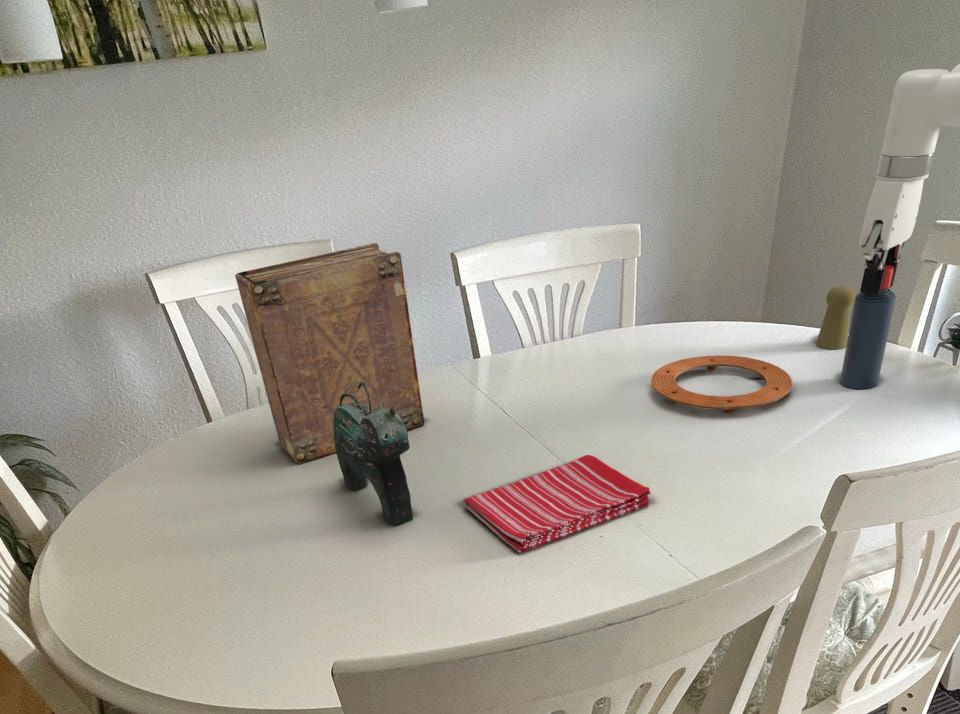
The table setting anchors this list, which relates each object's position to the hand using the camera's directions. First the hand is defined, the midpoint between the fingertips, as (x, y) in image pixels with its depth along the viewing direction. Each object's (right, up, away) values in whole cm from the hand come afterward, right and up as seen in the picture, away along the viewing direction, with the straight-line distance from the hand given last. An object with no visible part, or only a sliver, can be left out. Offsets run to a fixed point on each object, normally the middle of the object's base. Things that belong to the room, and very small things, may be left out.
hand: (876, 288), depth 134 cm
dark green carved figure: (-85, -39, -10) cm, 94 cm away
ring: (-23, -14, +13) cm, 30 cm away
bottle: (+2, -13, +10) cm, 16 cm away
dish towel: (-57, -40, -16) cm, 71 cm away
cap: (0, 0, 0) cm, 0 cm away
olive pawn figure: (+4, 0, +26) cm, 26 cm away
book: (-92, -23, +10) cm, 95 cm away
